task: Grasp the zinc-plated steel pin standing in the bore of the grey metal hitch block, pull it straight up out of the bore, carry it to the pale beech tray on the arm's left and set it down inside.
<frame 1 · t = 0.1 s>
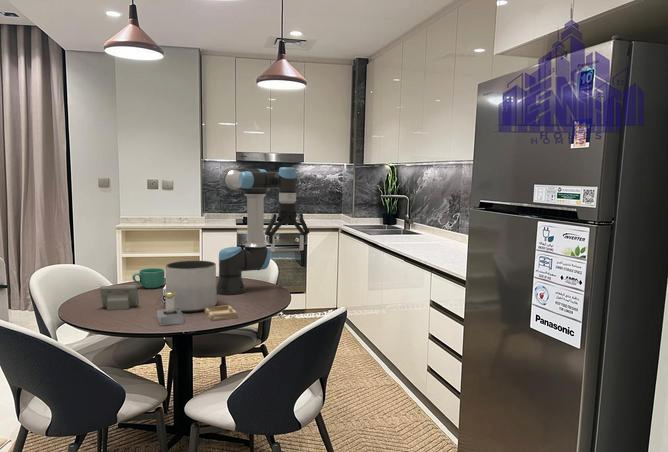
hand: (287, 250, 215), 28 cm above the table, fingers open, 13 cm apart
tray: (220, 315, 212), on the table
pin: (170, 306, 202), in the hitch block
hitch block: (170, 320, 202), on the table
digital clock: (119, 308, 222), on the table
planter: (191, 307, 225), on the table
mug: (148, 288, 263), on the table
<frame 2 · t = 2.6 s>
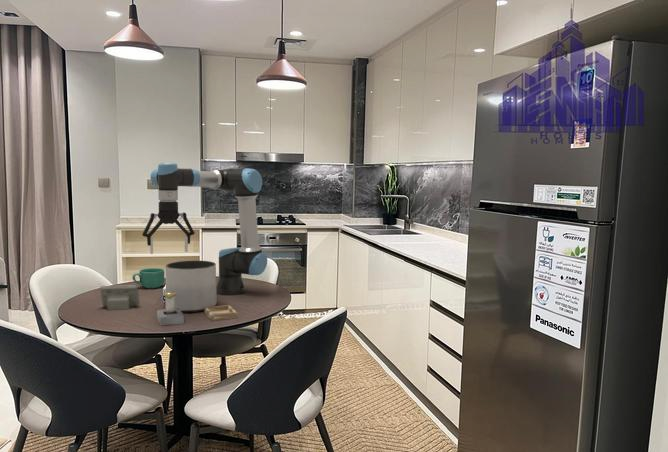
hand: (169, 252, 200), 29 cm above the table, fingers open, 13 cm apart
nothing on the table moved.
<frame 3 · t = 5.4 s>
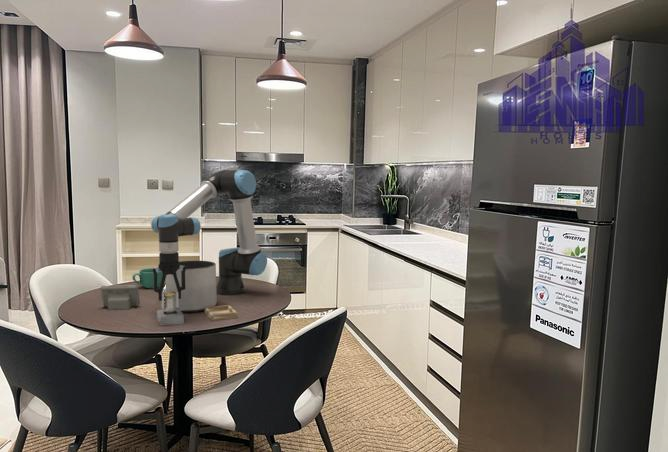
hand: (170, 307, 202), 6 cm above the table, fingers closed on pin, 5 cm apart
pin: (170, 306, 202), in the hitch block, touching gripper
everything else where it was.
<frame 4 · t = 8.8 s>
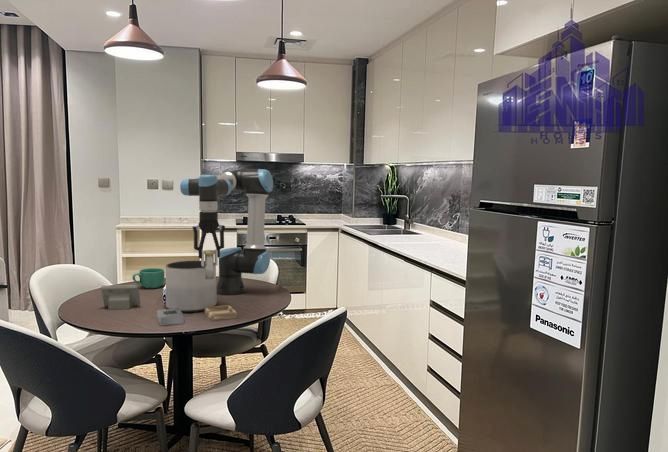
hand: (209, 265, 208), 22 cm above the table, fingers closed on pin, 5 cm apart
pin: (209, 264, 208), point 23 cm above the table, touching gripper
everything else where it was.
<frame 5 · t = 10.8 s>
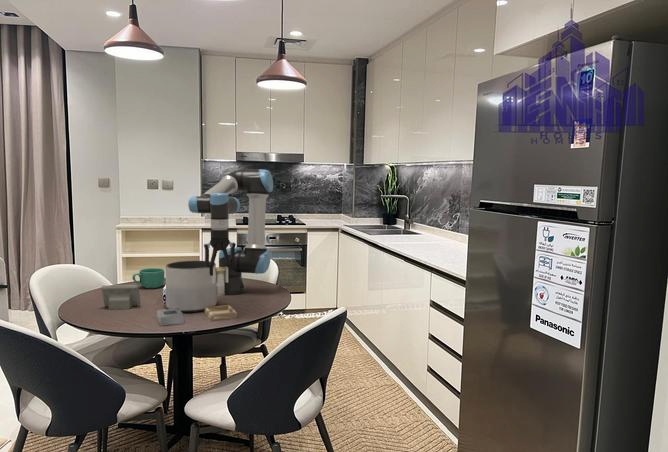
hand: (220, 282, 210), 15 cm above the table, fingers closed on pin, 5 cm apart
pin: (220, 281, 210), point 15 cm above the table, touching gripper
everything else where it was.
when the fingers open (7 cm above the table, at t = 12.4 s): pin stays where it is, resting on tray.
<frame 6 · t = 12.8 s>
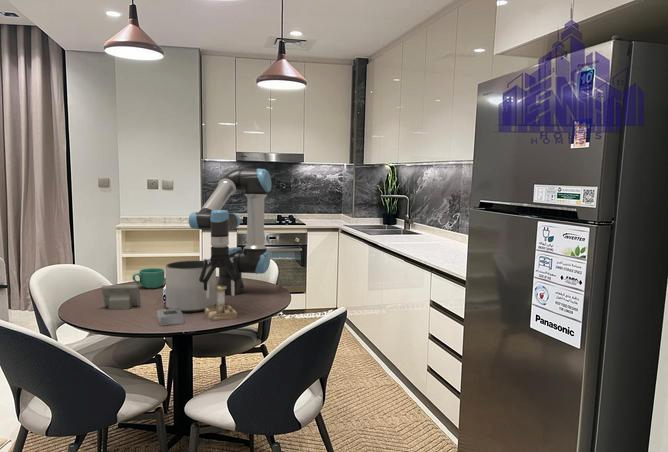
hand: (220, 296, 211), 8 cm above the table, fingers open, 10 cm apart
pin: (220, 300, 211), in the tray, point 7 cm above the table
everything else where it was.
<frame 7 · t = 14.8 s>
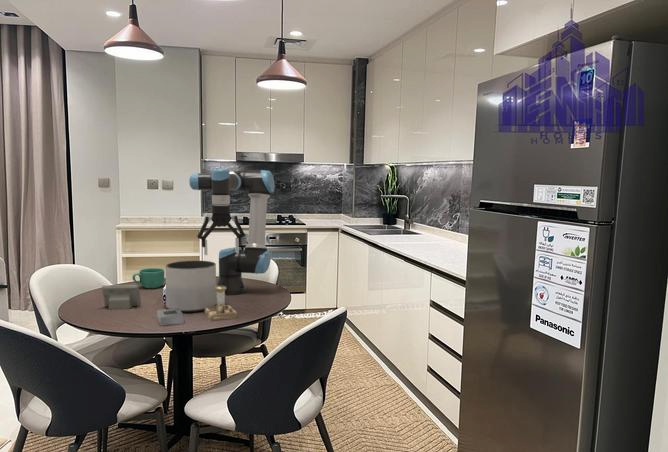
hand: (221, 253, 210), 27 cm above the table, fingers open, 13 cm apart
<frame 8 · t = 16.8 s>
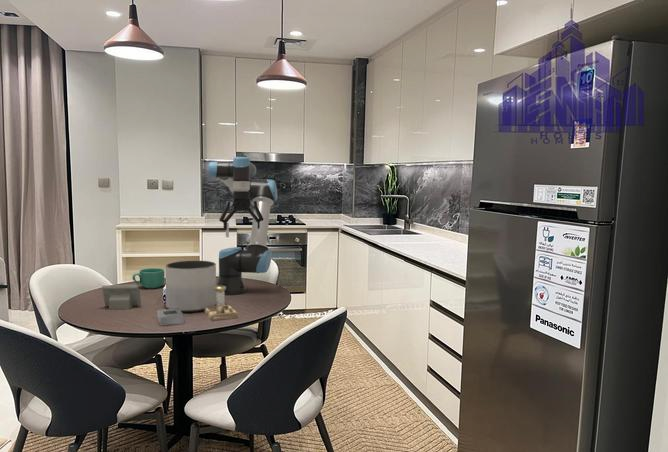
hand: (241, 236, 225), 33 cm above the table, fingers open, 13 cm apart
at the end: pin inside the target area on the tray (0.0 cm from its centre), point 6.6 cm above the tray's base; the gripper is holding nothing; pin touching tray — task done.
